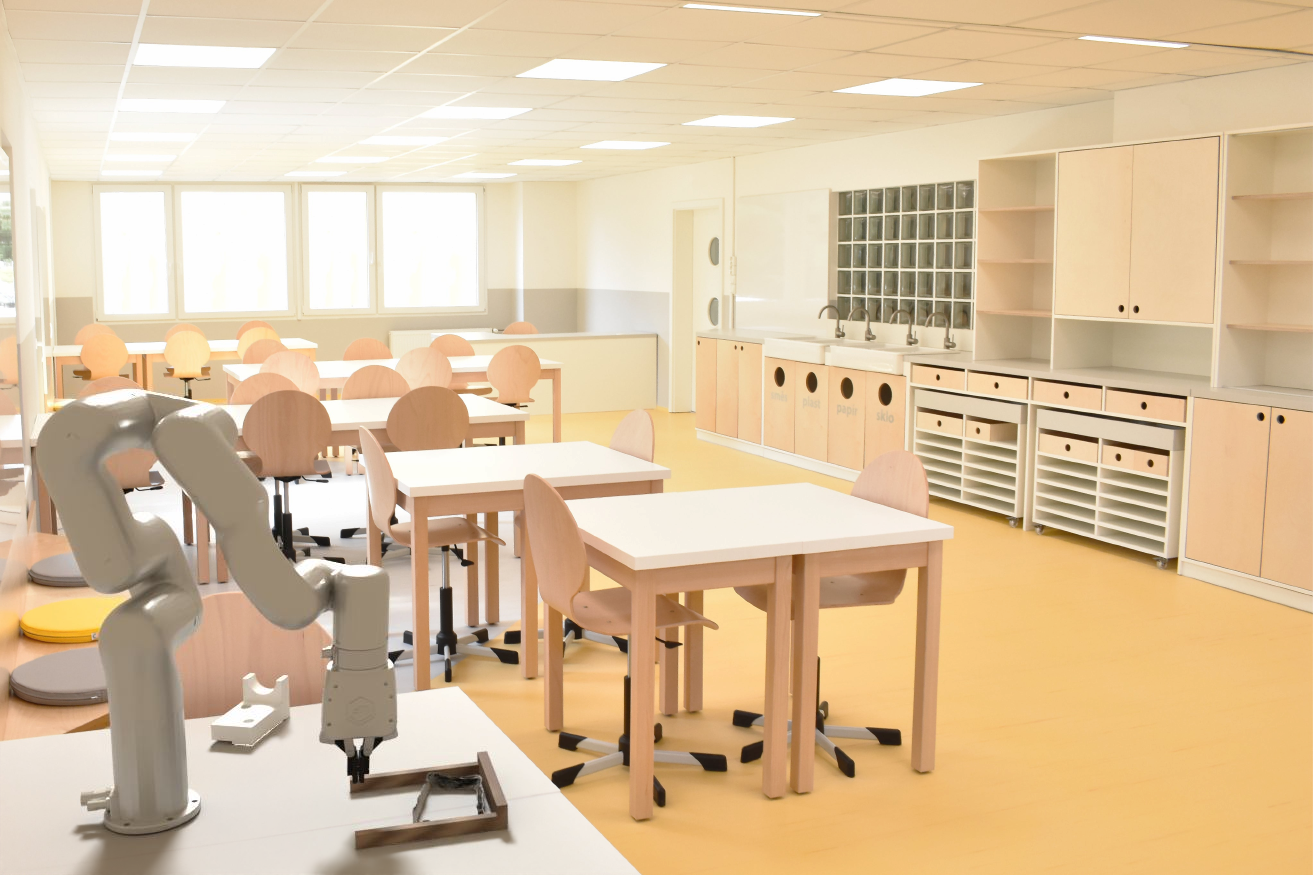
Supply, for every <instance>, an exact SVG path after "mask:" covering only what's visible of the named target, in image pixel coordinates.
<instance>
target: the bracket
mask: <svg viewBox="0 0 1313 875" xmlns="http://www.w3.org/2000/svg"><path fill="white" fill-rule="evenodd" d="M289 678H290V677H289V675H285V674H284V675H282V676H280V677H279V678H277V679H276V681H275V686H274V687H273V688H268V687H265V686H263V685H261V683H259V681H258V678H257V677H256V673H253V672H252V673H251V672H249V674H246V675H245V676H244V677H243V678H242V680H241V681H242V695H243V696H242V697H243V699H242V700H243V701H241V702H239V703H238V705H236V706H234V707H233V708H232V709H230V710H228V711H227V712H226V713H225V714H223V715H221V717H220V718H217V719H216V720H215V721H214V722H212V723H211V724H210V731H211V732H210V735H211V740H213V741H226V742H231V745H232V744H245V745H246V744H249V745H253V744H254V743H255V742H256V741H257V740H258V739H260V738H261V737H262V736H263V735H264V734H266V733H267V732H268V731H269V730H271V729H272V728H274V727H275V726H276V725H277V724H279V723H280V722H281V721H283V720H284V719H286V718H287V717H288V718H289V717H291V709H290V708H291V707H290V703H291V702H290V701H291V700H290V680H289ZM288 718H287V719H288ZM287 719H286V720H287ZM283 722H284V721H283Z"/></svg>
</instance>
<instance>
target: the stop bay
mask: <svg viewBox="0 0 1313 875" xmlns="http://www.w3.org/2000/svg"><path fill="white" fill-rule="evenodd" d="M476 753H477V755H476V756H477V757H476V760H477V761H471V762H464V763H463V762H462V763H454V764H453V763H452V764H446V765H445V764H444V765H438V766H429V767H421V768H412V769H405V770H404V769H403V770H394V771H388V772H387V771H385V772H379V773H369V774H366V775H364V783H360V782H359V778H358V783H356V784H353V782H352V776H349V791H350V794H351V793H361V792H369V791H370V792H371V791H378V790H385V789H393V788H394V789H395V788H400V787H401V788H402V787H410V786H417V785H418V786H419V785H425V784H426V779H427V774H428V773H431V772H433V773H435V772H438V773H441V774H444V775H448V776H450V777H452V776H470V775H480V776H481V778H482V782H481V786H482V788H483V793H484V796H485V799H486V802H487V805H488V807H489V811H490V812H488V813H485V814H480V815H478V814H474V815H467V816H465V815H464V816H459V817H458V816H457V817H453V818H443V819H436V820H435V819H434V820H430V821H427V822H422V821H418V822H419V823H417V822H416V823H413V822H412V823H405V824H398V825H392V826H391V825H390V826H384V827H375V828H370V829H369V828H367V829H361V830H359V829H358V830H355V831H354V842H355V843H354V845H355V850H360V849H368V848H376V847H382V846H383V847H384V846H389V845H397V844H405V843H410V842H412V841H413V842H419V841H427V840H433V839H432V838H434V839H440V837H442V838H447V837H454V836H455V837H456V836H463V835H470V834H476V833H483V832H484V833H485V832H493V831H499V830H505V829H506V830H507V829H508V828H509V808H508V807H509V805H508V802H507V799H506V797H505V794H504V792H503V789H502V786H501V783H500V781H499V778H498V776H497V774H496V770H495V769H494V766H493V765H494V764H493V763H492V761H491V758H490V755H489V752H488V751H487V750H485V751H484V750H483V751H477V752H476Z"/></svg>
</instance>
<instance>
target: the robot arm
mask: <svg viewBox="0 0 1313 875" xmlns="http://www.w3.org/2000/svg"><path fill="white" fill-rule="evenodd" d="M238 441H239V429H238V427H237V424H236V422H235V420H234V418H233V416H231V414H230V413H229V412H227V411H226V410H225V409H223V407H222V408H221V407H220V406H218V405H215V404H213V403H209V402H205V401H199V400H194V399H189V398H185V397H179V396H173V395H168V394H163V393H157V392H153V391H148V390H143V389H142V390H141V389H136V388H135V389H134V388H125V389H124V388H123V389H116V390H112V391H108V392H107V391H106V392H103V393H96V394H91V395H87V396H83V397H80V398H78V399H75V400H72V401H71V402H68V403H65V405H63V406H62V407H60V408H59V409H57V410H56V411H55V412H53V414H52V415H51V416H50V417H49V418H48V419H47V420H46V421H45V423H44V425H43V426H42V428H41V430H40V431H39V433H38V436H37V440H36V444H35V460H36V462H35V463H36V466H37V469H38V472H39V475H40V477H41V479H42V481H43V484H44V485H45V489H46V490H47V492H48V494H49V496H50V498H51V500H52V503H53V505H54V508H55V509H56V513H57V516H58V517H59V520H60V524H61V526H62V529H63V531H64V534H65V536H66V538H67V542H68V544H69V546H70V549H71V551H72V554H73V556H74V559H75V561H76V564H77V566H78V568H79V572H80V574H81V576H82V578H83V579H84V581H85V582H86V584H87V586H89V587H90V588H91V589H93V590H94V591H95V592H97V593H100V594H103V595H116V594H119V593H123V592H125V591H127V590H128V591H129V594H130V597H129V598H128V599H126V600H125V601H123V602H122V603H120V604H118V605H117V606H116V607H115V608H114V609H112V610H111V611H110V613H108V614H107V616H106V617H105V619H104V620H103V622H102V624H101V626H100V628H99V632H98V635H97V636H98V637H97V638H98V639H97V646H98V653H99V657H100V661H101V665H102V669H103V671H104V677H105V683H106V689H107V701H108V714H109V715H108V716H109V726H110V728H109V729H110V742H111V743H110V744H111V745H110V746H111V758H112V774H113V785H112V786H107V787H106V788H105V790H90V791H89V790H88V791H82V792H80V793H81V794H80V806H81V807H86V810H87V811H86V812H95V811H99V810H105V811H104V813H103V823H104V826H105V827H106V828H107V829H108V830H110V831H112V832H115V833H119V834H125V835H143V834H144V835H147V834H153V833H160V832H162V831H166V830H170V829H172V828H175V827H178V826H180V825H182V824H185V823H186V822H188V821H190V820H191V819H192V818H193V817H195V816H196V815H198V812H200V810H201V808H202V807H201V806H202V803H201V802H202V799H201V796H200V794H199V793H198V792H196V791H195V790H193V789H190V788H189V781H188V779H189V778H188V776H189V775H188V761H187V758H188V757H187V742H186V741H187V740H186V724H185V723H186V722H185V720H186V719H185V705H184V704H185V703H184V690H183V689H184V688H183V683H182V679H181V674H180V671H179V669H178V666H177V663H176V658H175V652H176V651H177V649H179V647H180V646H182V645H183V644H184V643H185V642H187V641H188V640H189V639H190V638H192V637H193V636H194V634H195V633H196V632H197V631H198V630H199V628H200V626H201V624H202V621H203V617H204V606H203V605H204V604H203V600H202V597H201V593H200V591H199V588H198V585H197V583H196V581H195V580H196V579H195V578H194V575H193V573H192V570H191V568H190V565H189V562H188V560H187V557H186V555H185V552H184V550H183V547H182V545H181V543H180V540H179V538H178V536H177V534H176V533H175V531H174V529H173V528H172V527H171V526H170V525H169V523H167V521H165V520H164V518H161V517H160V516H158V515H156V514H154V513H152V512H147V511H146V512H145V511H133V512H132V510H131V508H130V506H129V503H128V501H127V498H126V495H125V492H124V490H123V487H122V485H121V484H120V482H119V480H118V479H117V478H116V477H115V475H114V474H113V473H112V472H111V471H110V470H109V469H108V468H107V466H106V461H107V459H108V458H109V457H112V456H114V455H117V454H121V453H124V452H126V451H130V450H133V449H139V450H144V451H145V450H146V451H151V452H153V454H154V456H155V458H156V459H157V460H158V462H159V463H160V465H161V466H162V467H163V468H164V469H165V471H166V472H167V473H168V474H169V475H170V477H171V478H172V479H173V480H174V481H175V482H176V484H177V485H178V486H179V487H180V489H181V490H182V492H184V494H185V495H186V496H187V498H188V499H189V501H191V502H192V503H193V505H194V506H195V507H196V508H197V510H198V511H199V512H200V513H201V514H202V516H203V517H204V518H205V520H207V521H208V523H209V525H210V526H211V527H212V529H213V530H214V532H215V535H216V539H217V543H218V546H219V550H220V551H221V554H222V556H223V560H224V561H225V564H226V565H227V566H226V567H227V569H228V571H229V573H230V576H232V578H233V580H234V582H235V583H236V585H237V586H238V587H239V589H240V590H241V592H242V593H243V594H244V595H245V596H246V598H247V599H248V600H249V601H250V603H251V604H252V605H253V606H254V607H255V609H256V611H258V612H259V613H260V614H261V615H262V616H263V617H264V618H265V619H266V620H267V621H268V622H269V623H271V625H273V626H275V627H277V628H279V629H282V630H284V631H299V630H303V629H305V628H307V627H309V626H310V625H312V624H313V623H314V622H315V621H316V620H317V619H319V617H320V616H321V615H322V614H325V613H327V612H329V611H330V612H332V644H330V645H329V646H327V647H325V648H324V647H322V648H321V658H322V659H329V661H330V662H329V663H328V664H327V666H326V670H325V673H324V674H325V675H324V680H323V689H322V696H321V697H322V699H321V716H320V718H321V719H320V720H321V721H320V722H321V728H320V732H319V735H318V740H319V743H321V744H326V745H332V746H333V745H335V746H336V747H337V748H339V749H340V750H341V751H342V752H343V753H345V755H346V758H347V759H346V762H347V763H346V775H347V777H352V782H353V784H356V783H358V778H359V782H360V783H364V775H369V774H370V758H371V757H370V756H371V755H372V754H373V751H375V749H376V748H377V747H379V745H380V744H381V743H382V742H386V741H390V740H394V739H396V738H397V737H398V736H399V733H398V727H397V726H398V693H397V692H398V691H397V679H396V671H395V667H394V663H393V661H392V660H391V659H390V658H389V636H390V635H389V634H390V633H389V631H390V630H389V629H390V627H389V626H390V625H389V624H390V589H391V588H390V587H391V585H390V584H391V583H390V582H391V581H390V580H391V579H390V575H389V573H388V571H387V570H386V569H384V568H383V567H380V566H377V565H372V564H354V565H353V564H352V565H350V564H343V563H339V562H335V561H331V560H326V559H320V558H308V559H307V558H306V559H303V560H300V561H298V562H297V563H295V564H292V562H290V561H289V559H288V558H287V557H286V556H285V554H284V553H283V552H282V550H281V548H280V547H279V545H278V543H277V542H276V539H275V537H274V534H273V532H272V528H271V525H270V524H271V523H270V499H269V498H270V497H269V493H268V490H267V489H266V487H265V486H264V484H263V483H262V482H261V481H260V480H259V479H258V477H257V476H256V475H255V474H254V472H253V471H252V470H251V469H250V467H248V465H247V463H245V461H244V460H243V459H242V458H241V457H240V455H239V454H238V452H236V451H235V448H236V446H237V444H238ZM357 739H362V744H361V745H360V747H359V749H357V746H356V745H355V744H354V743H355V742H354V740H357Z"/></svg>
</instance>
